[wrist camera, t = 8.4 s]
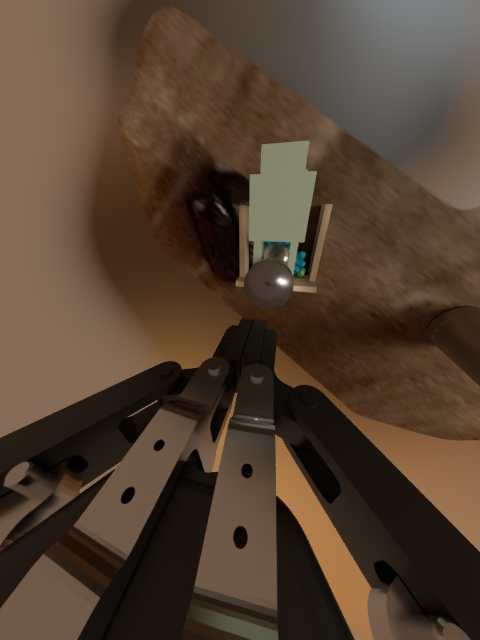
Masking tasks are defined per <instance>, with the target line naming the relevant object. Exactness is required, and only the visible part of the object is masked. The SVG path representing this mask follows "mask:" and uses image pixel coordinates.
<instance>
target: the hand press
mask: <svg viewBox="0 0 480 640" xmlns="http://www.w3.org/2000/svg"><path fill="white" fill-rule="evenodd" d="M308 148H309V141H299V142H287V143H275V144H264V145H262V149H261V172H260V174H251V175H250V199H249V241H254V255H253V265H254V264H255V263H256V262H258V261H260V260H262V259H263V258H264V242H265V241H270V242H290V247H289V254H288V261H287V266H288V267H289V269H290V270H291V272H292V275H293V274H294V268H295V261H296V255H297V249H298V242H305V236H306V230H307V225H308V219H309V213H310V208H311V202H312V196H313V190H314V185H315V179H316V173H317V171H310V172H307V171H308V169H305V168H306V161H307V155H308Z"/></svg>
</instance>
